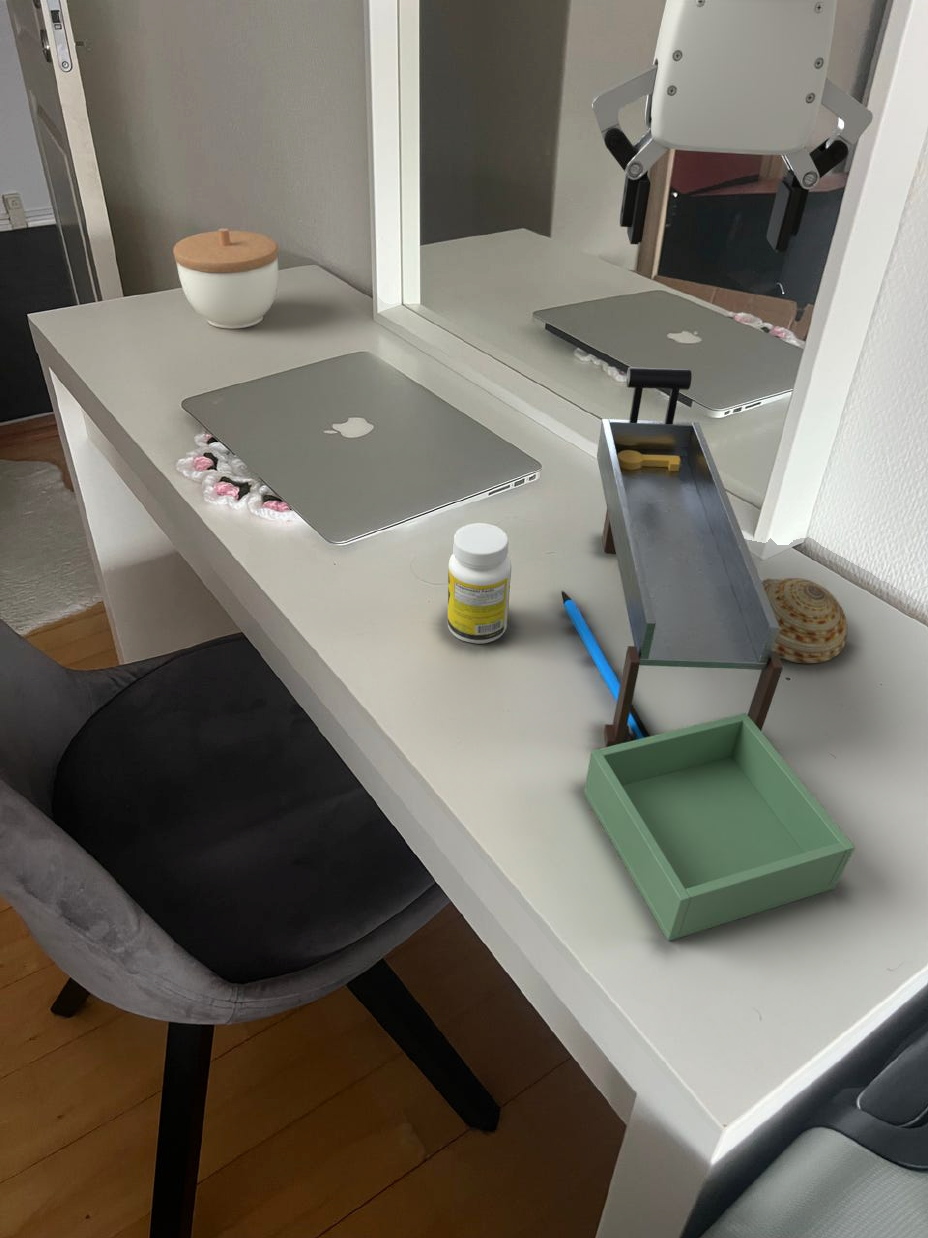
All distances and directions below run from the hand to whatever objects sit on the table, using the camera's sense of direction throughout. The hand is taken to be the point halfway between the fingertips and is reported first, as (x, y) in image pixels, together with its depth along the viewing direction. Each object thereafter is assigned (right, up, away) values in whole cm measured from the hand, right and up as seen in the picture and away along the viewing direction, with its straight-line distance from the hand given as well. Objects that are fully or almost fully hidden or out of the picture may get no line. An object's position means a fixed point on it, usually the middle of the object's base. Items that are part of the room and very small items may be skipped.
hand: (704, 242), depth 62 cm
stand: (-1, -27, +10) cm, 28 cm away
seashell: (+9, -26, +11) cm, 30 cm away
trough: (-1, -20, +7) cm, 21 cm away
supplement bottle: (-15, -26, +10) cm, 32 cm away
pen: (-6, -30, +6) cm, 31 cm away
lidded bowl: (-46, +13, +57) cm, 74 cm away
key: (-1, -13, +15) cm, 20 cm away
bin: (-2, -39, -5) cm, 40 cm away
